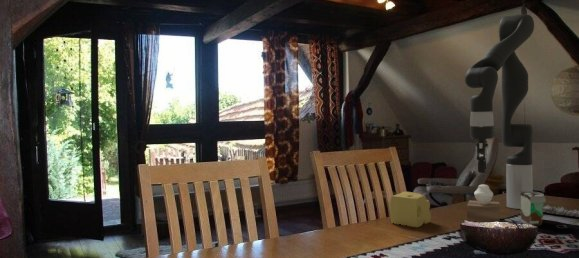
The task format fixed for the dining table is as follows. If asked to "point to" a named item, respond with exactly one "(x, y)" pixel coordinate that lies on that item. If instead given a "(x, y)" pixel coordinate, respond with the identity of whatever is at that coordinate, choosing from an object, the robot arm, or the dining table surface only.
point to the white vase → (483, 194)
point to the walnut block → (482, 211)
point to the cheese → (410, 209)
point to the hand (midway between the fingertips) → (482, 170)
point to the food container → (532, 207)
